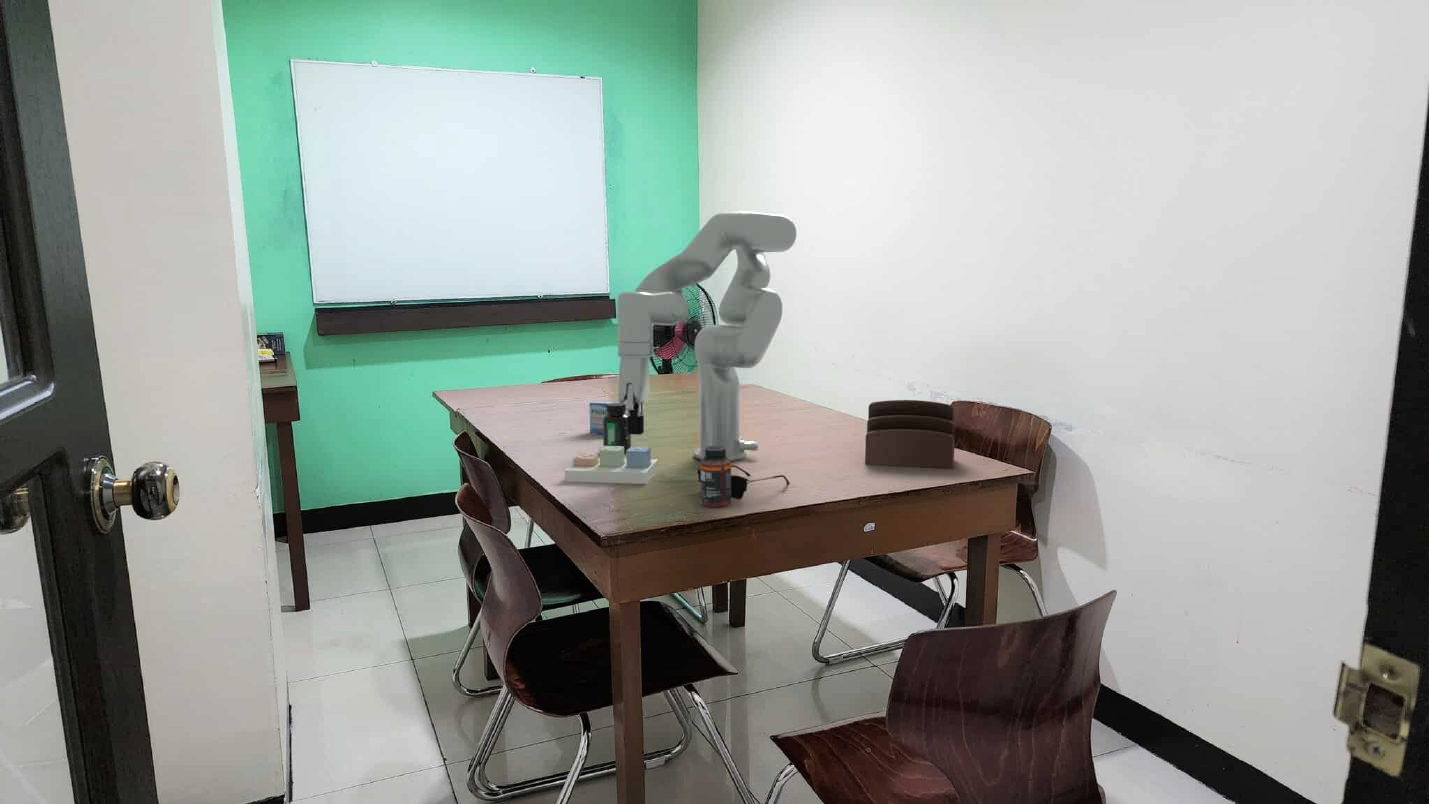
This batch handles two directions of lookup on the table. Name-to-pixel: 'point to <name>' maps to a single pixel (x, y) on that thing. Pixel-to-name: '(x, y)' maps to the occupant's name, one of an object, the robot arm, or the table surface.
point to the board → (611, 474)
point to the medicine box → (598, 415)
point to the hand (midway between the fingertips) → (635, 433)
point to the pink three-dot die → (585, 460)
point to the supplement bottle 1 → (616, 426)
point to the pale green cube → (612, 456)
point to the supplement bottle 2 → (715, 478)
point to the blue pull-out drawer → (638, 457)
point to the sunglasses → (741, 483)
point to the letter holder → (910, 434)
